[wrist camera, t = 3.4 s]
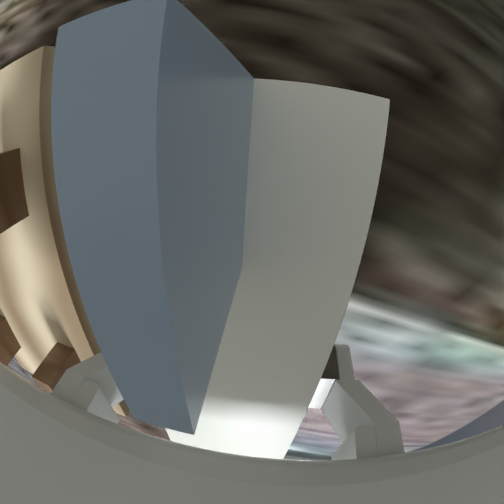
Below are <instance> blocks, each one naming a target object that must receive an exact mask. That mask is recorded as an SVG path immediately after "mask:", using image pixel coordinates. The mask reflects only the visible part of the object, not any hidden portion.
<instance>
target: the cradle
mask: <svg viewBox="0 0 504 504" xmlns="http://www.w3.org/2000/svg"><path fill="white" fill-rule="evenodd" d="M54 55H55V47H54V46H42V47H40V48H38V49H36V50H34V51H32V52H30V53H29V54H27V55H25V56H23V57H21V58H20V59H18V60H16V61H14V62H13V63H11V64H9V65H8V66H6V67H5V68H3V69H1V70H0V362H1V363H3V364H4V365H5V366H7V365H8V364H9V362H10V361H11V360H12V358H13V357H14V356H15V358H16V359H17V361H18V363H19V364H20V366H21V367H22V368H23V369H25V370H27V371H28V372H30V373H32V374H33V375H32V377H33V379H34V380H35V382H36V383H37V384H38V386H39V387H40V388H42V389H44V390H46V391H47V392H49V393H51V392H52V391H53V389H54V388H55V386H56V385H57V383H58V382H59V380H60V379H61V377H62V376H63V374H64V373H65V371H66V370H67V369H68V368H70V367H72V366H74V365H76V364H78V363H80V362H82V361H84V360H86V359H88V358H90V357H92V356H94V355H96V354H98V353H100V352H101V350H100V348H99V346H98V343H97V341H96V338H95V336H94V333H93V331H92V328H91V325H90V323H89V320H88V317H87V314H86V311H85V309H84V306H83V303H82V300H81V296H80V293H79V290H78V287H77V283H76V280H75V277H74V273H73V269H72V266H71V262H70V258H69V254H68V250H67V245H66V241H65V236H64V232H63V227H62V222H61V216H60V211H59V205H58V198H57V191H56V183H55V175H54V165H53V153H52V135H51V93H52V76H53V64H54ZM113 410H114V411H115V413H117V414H120V415H123V416H127V414H128V412H129V408H128V407H127V405H126V403H125V401H124V400H122V401H121V402H120V403H118V404H117V405H115V406H114V407H113Z"/></svg>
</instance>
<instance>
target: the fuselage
mask: <svg viewBox="0 0 504 504" xmlns="http://www.w3.org/2000/svg"><path fill="white" fill-rule="evenodd" d="M389 105H390V99H386V98H383V97H379V96H374V95H370V94H366V93H361V92H357V91H352V90H347V89H341V88H336V87H330V86H324V85H317V84H310V83H302V82H293V81H283V80H271V79H254V78H253V77H252V76H251V74H250V73H249V72H248V71H247V70H246V69H245V68H244V66H243V65H242V64H241V63H240V62H239V61H238V60H237V59H236V58H235V56H234V55H233V54H232V53H231V52H230V51H229V50H228V49H227V48H226V47H225V46H224V45H223V44H222V43H221V42H220V40H219V39H218V38H217V37H216V36H215V35H214V34H213V33H212V32H211V31H210V30H209V29H208V28H207V27H206V26H205V25H204V24H203V23H202V22H201V21H200V20H198V19H197V18H196V17H195V16H194V15H193V14H192V13H191V12H190V11H189V10H188V9H187V8H186V7H185V6H183V5H182V4H181V3H180V2H179V1H178V0H130V1H127V2H123V3H120V4H117V5H113V6H110V7H107V8H104V9H101V10H98V11H96V12H93V13H90V14H88V15H85V16H83V17H80V18H78V19H75V20H73V21H71V22H68V23H66V24H64V25H62V26H59V28H58V33H57V40H56V47H55V55H54V64H53V76H52V93H51V135H52V153H53V165H54V175H55V183H56V191H57V198H58V205H59V211H60V216H61V222H62V227H63V232H64V236H65V241H66V245H67V250H68V254H69V258H70V262H71V266H72V269H73V273H74V277H75V280H76V283H77V287H78V290H79V293H80V296H81V300H82V303H83V306H84V309H85V311H86V314H87V317H88V320H89V323H90V325H91V328H92V331H93V333H94V336H95V338H96V341H97V343H98V346H99V348H100V350H101V353H102V355H103V357H104V360H105V362H106V364H107V366H108V369H109V371H110V373H111V375H112V377H113V379H114V381H115V383H116V385H117V387H118V389H119V391H120V393H121V395H122V397H123V399H124V401H125V403H126V405H127V407H128V408H129V410H130V412H131V414H132V416H133V417H134V419H137V420H140V421H143V422H146V423H150V424H153V425H156V426H160V427H164V428H165V429H166V431H167V433H168V435H169V437H170V440H171V441H173V442H177V443H181V444H185V445H189V446H194V447H198V448H203V449H208V450H213V451H219V452H225V453H231V454H238V455H245V456H253V457H262V458H274V459H283V458H284V456H285V454H286V452H287V450H288V448H289V446H290V444H291V442H292V441H293V439H294V437H295V434H296V432H297V430H298V428H299V426H300V424H301V422H302V420H303V418H304V416H305V413H306V411H307V409H308V407H309V405H310V402H311V400H312V398H313V396H314V393H315V391H316V389H317V386H318V384H319V381H320V379H321V377H322V374H323V372H324V369H325V367H326V364H327V362H328V359H329V356H330V354H331V351H332V348H333V346H334V343H335V340H336V337H337V335H338V332H339V329H340V326H341V323H342V320H343V317H344V314H345V311H346V308H347V305H348V302H349V299H350V296H351V292H352V289H353V286H354V282H355V279H356V275H357V272H358V268H359V265H360V261H361V257H362V254H363V250H364V246H365V242H366V238H367V234H368V230H369V226H370V221H371V217H372V212H373V208H374V203H375V198H376V193H377V188H378V183H379V177H380V172H381V166H382V160H383V153H384V146H385V139H386V132H387V124H388V115H389Z"/></svg>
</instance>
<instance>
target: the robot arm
mask: <svg viewBox="0 0 504 504" xmlns="http://www.w3.org/2000/svg"><path fill="white" fill-rule="evenodd" d="M122 400H124V399H123V397H122V395H121V393H120V391H119V389H118V387H117V385H116V383H115V381H114V379H113V377H112V375H111V373H110V371H109V369H108V366H107V364H106V362H105V360H104V357H103V355H102V353H101V352H100V353H98V354H96V355H94V356H92V357H90V358H88V359H86V360H84V361H82V362H80V363H78V364H76V365H74V366H72V367H70V368H68V369H67V370H66V371H65V373H64V374H63V376H62V377H61V379H60V380H59V382H58V383H57V385H56V386H55V388H54V389H53V391H52V392H51V393H49V392H47V391H46V390H44V389H42V388H40V387H39V386H37V385H35V384H33V383H32V382H30V381H28V380H27V379H25V378H24V377H22V376H20V375H19V374H17V373H16V372H14V371H13V370H11V369H10V368H8V367H7V366H5V365H4V364H3V363H1V362H0V504H504V425H502V426H500V427H498V428H495V429H492V430H490V431H487V432H484V433H481V434H478V435H475V436H473V437H470V438H466V439H463V440H460V441H456V442H452V443H449V444H445V445H441V446H437V447H432V448H428V449H423V450H419V451H413V452H408V453H405V452H404V446H403V440H402V435H401V430H400V425H399V421H398V420H397V419H396V418H395V417H394V416H393V415H392V414H391V413H390V412H389V411H388V410H387V409H386V408H385V407H384V406H383V405H382V404H381V403H380V402H379V401H378V400H377V399H376V398H375V396H374V395H373V394H372V393H371V392H370V391H369V390H368V389H367V388H366V387H365V386H364V385H363V384H362V383H361V382H360V381H359V380H355V376H354V370H353V365H352V359H351V354H350V348H349V346H348V345H337V344H334V346H333V348H332V351H331V354H330V356H329V359H328V362H327V364H326V367H325V369H324V372H323V374H322V377H321V379H320V381H319V384H318V386H317V389H316V391H315V393H314V396H313V398H312V400H311V402H310V405H309V407H308V408H322V409H321V410H322V412H323V413H324V415H325V416H326V418H327V419H328V421H329V422H330V424H331V425H332V427H333V428H334V430H335V431H336V433H337V434H338V436H339V437H340V439H341V440H342V442H343V444H342V445H341V446H340V447H339V448H338V449H337V450H336V452H335V453H334V454H333V455H332V460H290V459H274V458H262V457H253V456H245V455H238V454H231V453H225V452H219V451H213V450H208V449H203V448H198V447H194V446H189V445H185V444H181V443H177V442H173V441H169V440H166V439H162V438H159V437H155V436H152V435H149V434H145V433H142V432H139V431H136V430H133V429H130V428H128V427H125V426H122V425H119V422H120V420H119V417H118V416H117V414H116V413H115V411H114V410H113V407H114V406H115V405H117V404H118V403H120V402H121V401H122Z"/></svg>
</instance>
